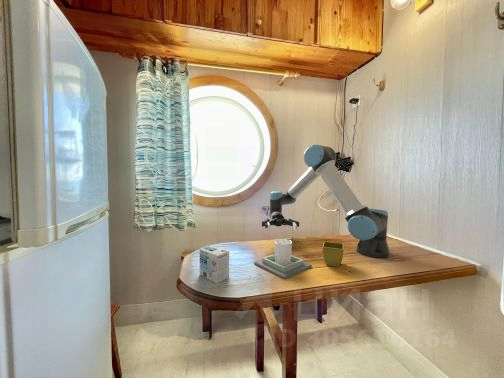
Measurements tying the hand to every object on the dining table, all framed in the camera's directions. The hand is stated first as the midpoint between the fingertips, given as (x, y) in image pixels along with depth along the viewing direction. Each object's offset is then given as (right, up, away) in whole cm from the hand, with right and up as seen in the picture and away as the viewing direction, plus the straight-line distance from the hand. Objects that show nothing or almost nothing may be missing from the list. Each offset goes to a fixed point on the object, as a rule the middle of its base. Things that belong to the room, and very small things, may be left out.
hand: (282, 227), depth 114 cm
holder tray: (-2, -15, -14) cm, 20 cm away
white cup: (-2, -14, -14) cm, 20 cm away
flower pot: (+21, -15, -12) cm, 28 cm away
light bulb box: (-31, -15, -24) cm, 42 cm away
